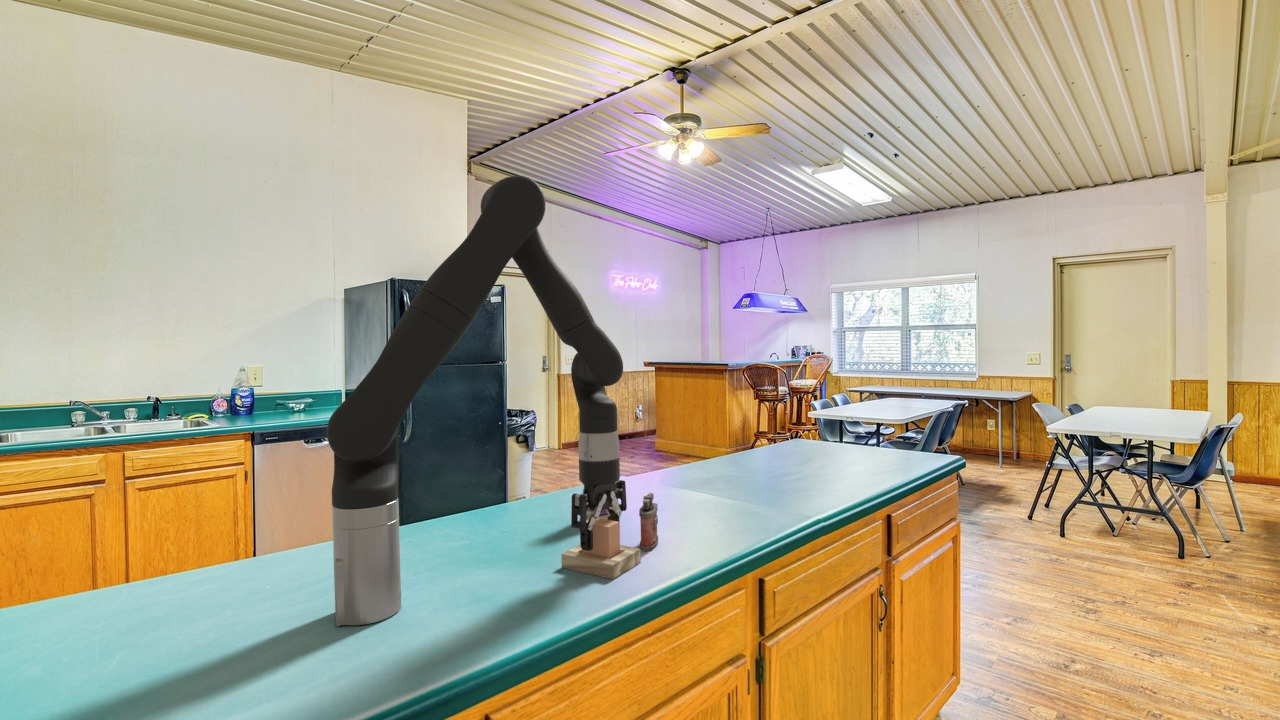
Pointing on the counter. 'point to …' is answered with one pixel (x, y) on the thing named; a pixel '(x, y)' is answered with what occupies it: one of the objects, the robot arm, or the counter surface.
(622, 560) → the frame
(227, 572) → the counter surface
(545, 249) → the robot arm
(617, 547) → the key block
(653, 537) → the lighter
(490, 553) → the counter surface
